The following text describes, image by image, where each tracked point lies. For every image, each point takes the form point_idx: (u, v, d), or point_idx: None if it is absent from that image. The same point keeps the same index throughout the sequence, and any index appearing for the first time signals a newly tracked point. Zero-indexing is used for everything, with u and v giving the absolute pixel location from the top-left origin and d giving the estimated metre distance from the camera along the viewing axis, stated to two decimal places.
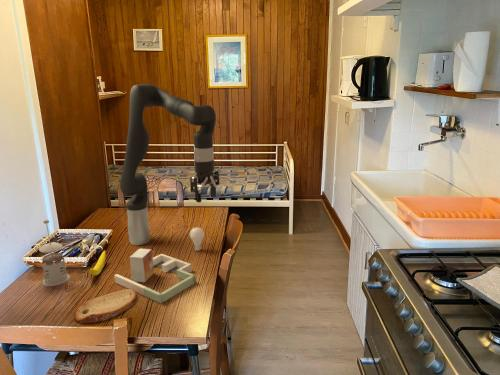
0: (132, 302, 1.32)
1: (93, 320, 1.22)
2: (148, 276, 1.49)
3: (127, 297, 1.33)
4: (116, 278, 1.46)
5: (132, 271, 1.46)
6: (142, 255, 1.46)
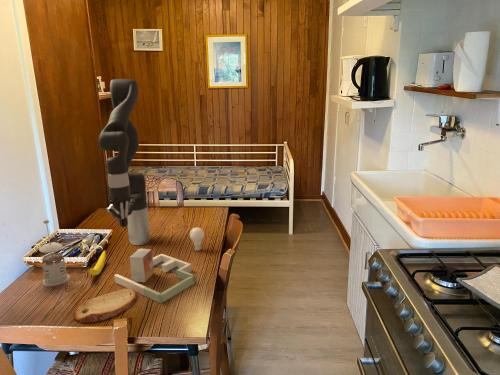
0: (132, 302, 1.32)
1: (92, 320, 1.23)
2: (148, 276, 1.49)
3: (126, 297, 1.34)
4: (116, 278, 1.46)
5: (132, 271, 1.46)
6: (142, 255, 1.46)
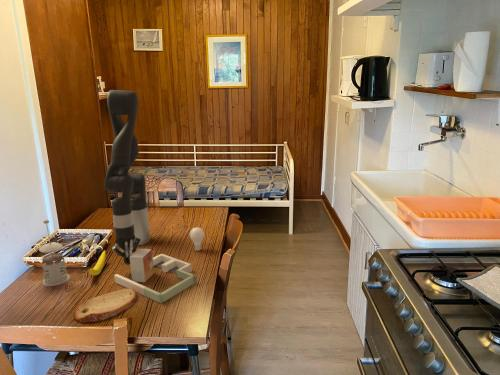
0: (132, 302, 1.32)
1: (92, 319, 1.23)
2: (148, 276, 1.49)
3: (126, 297, 1.34)
4: (116, 278, 1.46)
5: (132, 271, 1.46)
6: (142, 255, 1.46)
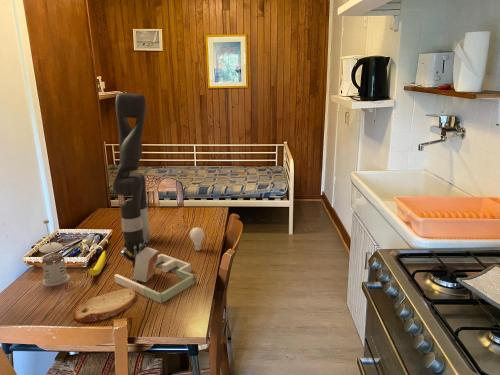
0: (131, 302, 1.32)
1: (92, 319, 1.23)
2: (149, 276, 1.49)
3: (126, 297, 1.34)
4: (116, 278, 1.46)
5: (135, 269, 1.45)
6: (149, 256, 1.45)
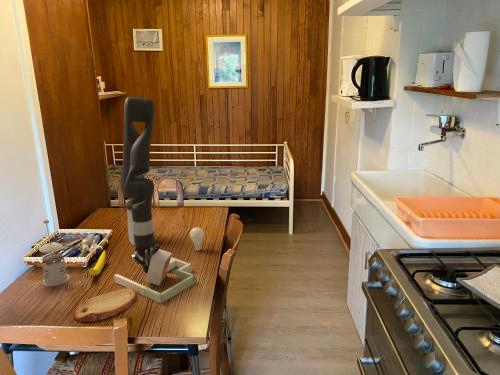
0: (131, 301, 1.32)
1: (92, 319, 1.23)
2: (162, 279, 1.46)
3: (126, 297, 1.34)
4: (116, 278, 1.46)
5: (149, 272, 1.43)
6: (164, 259, 1.43)
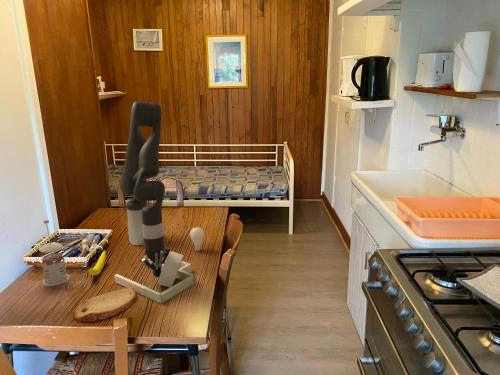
0: (131, 301, 1.32)
1: (91, 319, 1.23)
2: (173, 281, 1.45)
3: (126, 297, 1.34)
4: (116, 278, 1.46)
5: (162, 274, 1.41)
6: (178, 261, 1.41)
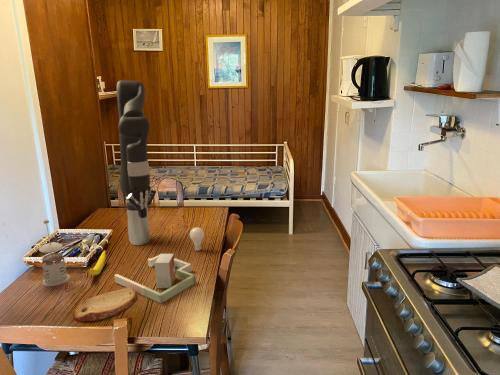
0: (131, 301, 1.32)
1: (91, 318, 1.23)
2: (172, 281, 1.45)
3: (126, 297, 1.34)
4: (116, 278, 1.46)
5: (157, 277, 1.41)
6: (167, 260, 1.41)
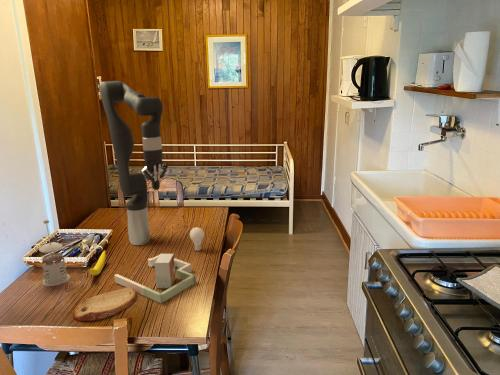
0: (131, 301, 1.33)
1: (91, 318, 1.23)
2: (172, 281, 1.45)
3: (126, 296, 1.34)
4: (116, 278, 1.46)
5: (157, 277, 1.41)
6: (167, 260, 1.41)
